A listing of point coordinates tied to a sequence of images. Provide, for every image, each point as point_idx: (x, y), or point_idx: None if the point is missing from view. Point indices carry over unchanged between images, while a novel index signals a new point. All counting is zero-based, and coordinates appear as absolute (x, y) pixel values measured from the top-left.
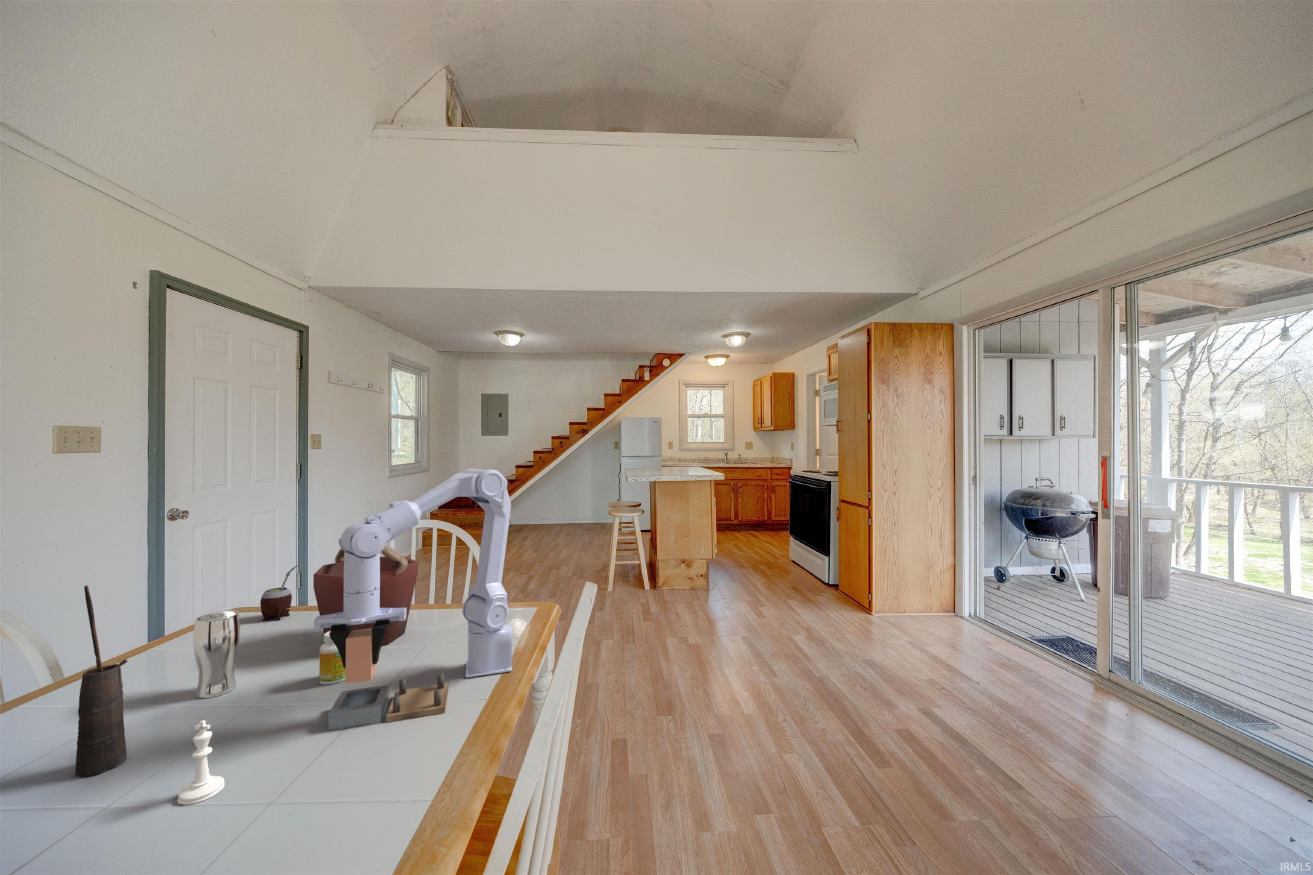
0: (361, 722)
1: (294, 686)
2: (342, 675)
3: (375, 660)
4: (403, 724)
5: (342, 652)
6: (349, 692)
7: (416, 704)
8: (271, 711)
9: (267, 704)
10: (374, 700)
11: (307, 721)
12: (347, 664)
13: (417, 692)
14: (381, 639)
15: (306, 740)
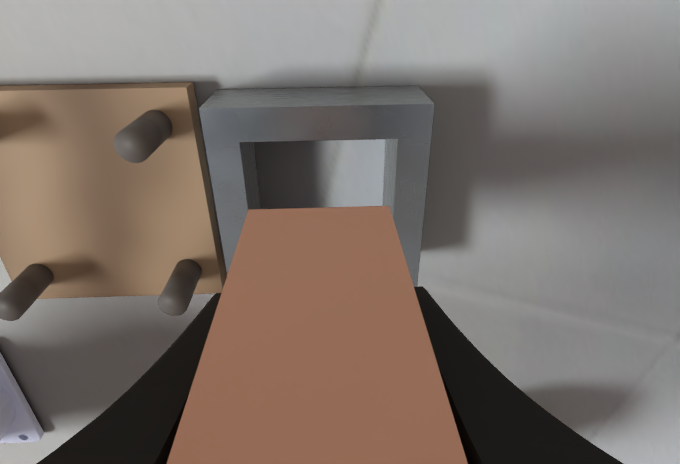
0: (293, 91)
1: (567, 411)
2: None
3: (211, 304)
4: (104, 35)
5: (461, 360)
6: None
7: (86, 160)
8: (623, 289)
9: (635, 333)
10: None
11: (506, 188)
12: (397, 275)
13: (126, 260)
14: (66, 442)
15: (490, 31)
